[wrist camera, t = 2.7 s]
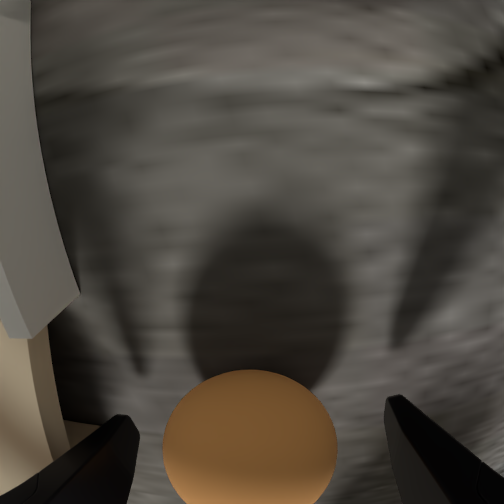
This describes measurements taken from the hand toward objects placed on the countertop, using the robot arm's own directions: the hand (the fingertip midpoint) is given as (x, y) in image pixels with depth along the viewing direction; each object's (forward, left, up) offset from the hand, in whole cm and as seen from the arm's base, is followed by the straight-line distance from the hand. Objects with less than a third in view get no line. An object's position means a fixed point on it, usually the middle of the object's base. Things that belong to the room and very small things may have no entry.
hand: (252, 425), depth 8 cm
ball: (0, 0, +1) cm, 1 cm away
